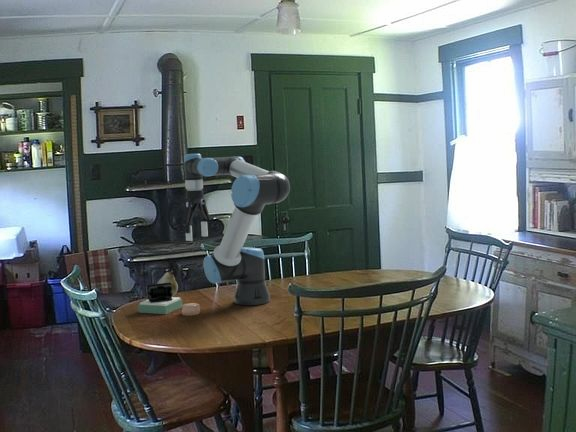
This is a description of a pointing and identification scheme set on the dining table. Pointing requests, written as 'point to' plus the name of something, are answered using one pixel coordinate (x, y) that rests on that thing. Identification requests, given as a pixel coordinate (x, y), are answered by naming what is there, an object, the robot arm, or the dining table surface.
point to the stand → (160, 306)
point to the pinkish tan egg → (190, 309)
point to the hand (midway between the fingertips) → (197, 238)
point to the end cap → (159, 292)
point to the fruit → (170, 279)
